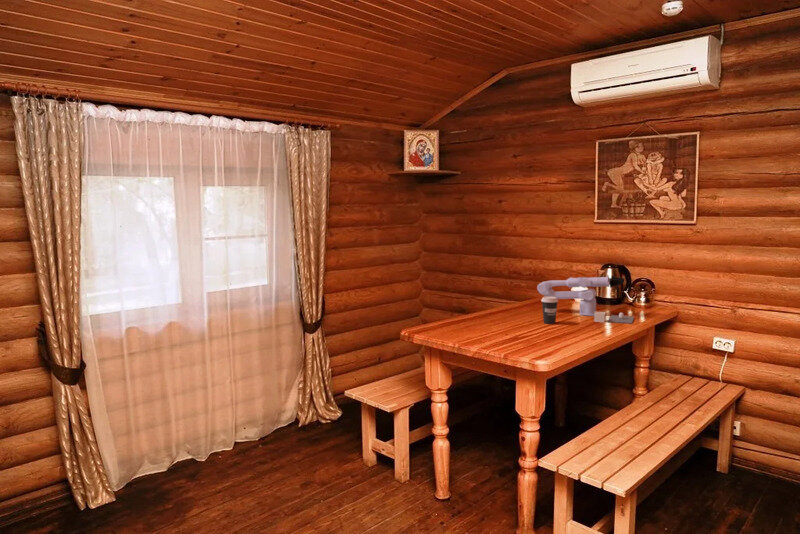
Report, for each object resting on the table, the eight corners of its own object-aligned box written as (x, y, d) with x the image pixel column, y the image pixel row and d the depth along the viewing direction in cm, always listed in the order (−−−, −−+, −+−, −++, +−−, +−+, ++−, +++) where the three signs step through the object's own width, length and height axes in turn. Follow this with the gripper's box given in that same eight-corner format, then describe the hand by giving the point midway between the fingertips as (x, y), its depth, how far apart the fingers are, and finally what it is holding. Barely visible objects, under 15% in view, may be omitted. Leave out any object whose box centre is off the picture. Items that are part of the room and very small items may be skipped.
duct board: (607, 322, 331) (607, 314, 331) (611, 316, 347) (611, 309, 347) (631, 323, 326) (632, 316, 325) (634, 317, 342) (634, 310, 341)
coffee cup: (539, 324, 330) (539, 298, 328) (543, 320, 339) (543, 295, 337) (555, 325, 326) (556, 299, 324) (559, 322, 334) (559, 296, 332)
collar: (594, 321, 333) (594, 313, 332) (595, 319, 338) (595, 311, 337) (604, 322, 330) (604, 313, 330) (605, 320, 335) (605, 312, 335)
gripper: (597, 277, 341) (622, 276, 335) (601, 273, 354) (624, 273, 348) (598, 288, 342) (622, 288, 336) (601, 285, 355) (625, 284, 348)
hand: (623, 281), depth 342 cm, fingers open, 7 cm apart
